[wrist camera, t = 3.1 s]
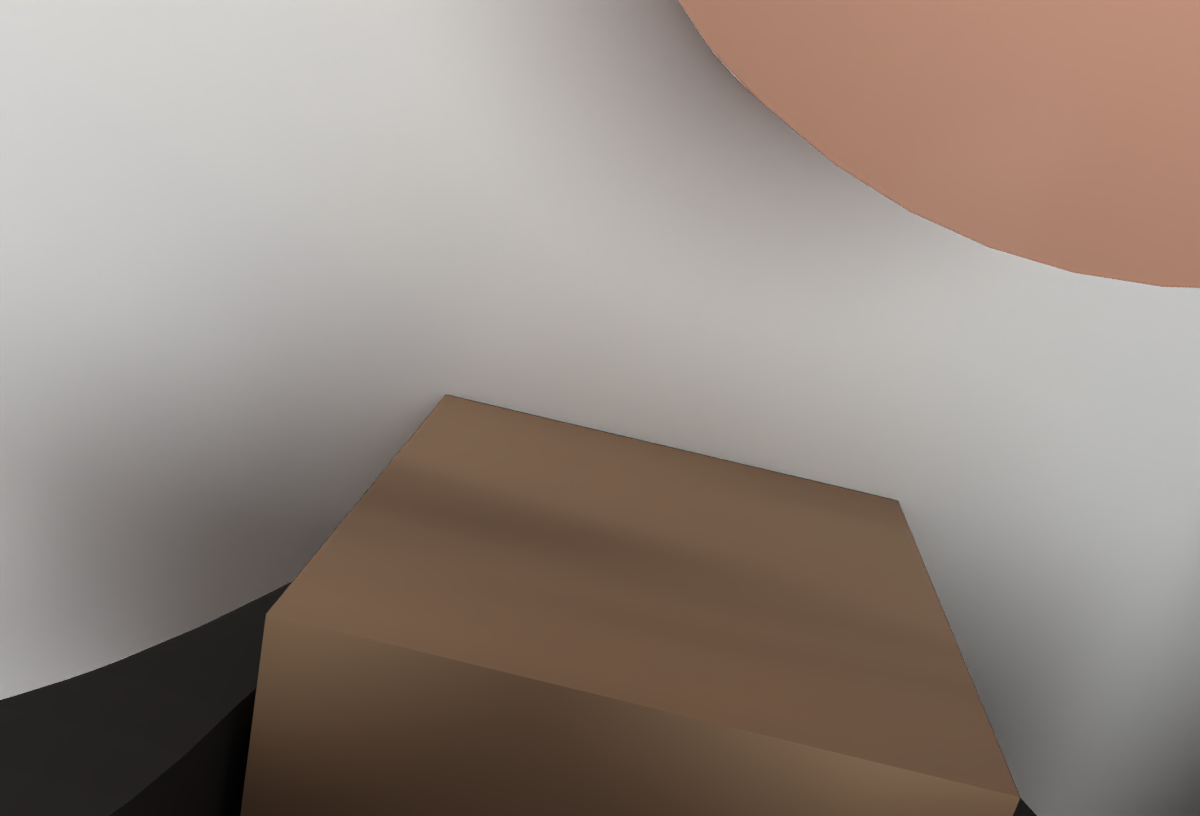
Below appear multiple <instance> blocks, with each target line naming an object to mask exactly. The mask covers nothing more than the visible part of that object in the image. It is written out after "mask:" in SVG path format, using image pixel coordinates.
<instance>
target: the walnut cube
mask: <svg viewBox="0 0 1200 816" xmlns="http://www.w3.org/2000/svg"><path fill="white" fill-rule="evenodd" d="M1019 799H1020V795H1019V793H1018V791H1017V788H1016V786H1015V783H1014V781H1013V779H1012V776H1011V774H1010V771H1009V769H1008V766H1007V764H1006V762H1005V759H1004V757H1003V754H1002V752H1001V749H1000V747H999V745H998V742H997V740H996V737H995V735H994V732H993V730H992V728H991V725H990V723H989V720H988V718H987V715H986V713H985V711H984V708H983V706H982V703H981V701H980V698H979V696H978V694H977V691H976V689H975V686H974V684H973V681H972V679H971V677H970V674H969V672H968V669H967V667H966V664H965V662H964V660H963V657H962V655H961V652H960V650H959V647H958V645H957V643H956V640H955V638H954V635H953V633H952V630H951V628H950V626H949V623H948V621H947V618H946V616H945V613H944V611H943V609H942V606H941V604H940V601H939V599H938V596H937V594H936V592H935V589H934V587H933V584H932V582H931V579H930V577H929V575H928V572H927V570H926V567H925V565H924V562H923V560H922V558H921V555H920V553H919V550H918V548H917V545H916V543H915V541H914V538H913V536H912V533H911V531H910V529H909V526H908V524H907V521H906V519H905V516H904V514H903V512H902V509H901V507H900V504H899V502H898V501H896V500H892V499H887V498H883V497H879V496H875V495H870V494H866V493H862V492H858V491H853V490H849V489H845V488H841V487H836V486H832V485H828V484H824V483H819V482H815V481H811V480H807V479H802V478H798V477H794V476H790V475H785V474H781V473H777V472H772V471H768V470H764V469H760V468H755V467H751V466H747V465H743V464H738V463H734V462H730V461H726V460H721V459H717V458H713V457H709V456H704V455H700V454H696V453H692V452H687V451H683V450H679V449H674V448H670V447H666V446H662V445H657V444H653V443H649V442H645V441H640V440H636V439H632V438H628V437H623V436H619V435H615V434H611V433H606V432H602V431H598V430H594V429H589V428H585V427H581V426H576V425H572V424H568V423H564V422H559V421H555V420H551V419H547V418H542V417H538V416H534V415H530V414H525V413H521V412H517V411H513V410H508V409H504V408H500V407H496V406H491V405H487V404H483V403H478V402H474V401H470V400H466V399H461V398H457V397H453V396H449V395H445V396H444V398H443V399H442V400H441V401H440V403H439V404H438V405H437V406H436V407H435V409H434V410H433V411H432V412H431V414H430V415H429V416H428V417H427V418H426V420H425V421H424V422H423V423H422V424H421V426H420V427H419V428H418V429H417V431H416V432H415V433H414V434H413V435H412V437H411V438H410V439H409V440H408V442H407V443H406V444H405V445H404V446H403V448H402V449H401V450H400V451H399V453H398V454H397V455H396V456H395V457H394V459H393V460H392V461H391V462H390V464H389V465H388V466H387V467H386V468H385V470H384V471H383V472H382V473H381V475H380V476H379V477H378V478H377V479H376V481H375V482H374V483H373V484H372V485H371V487H370V488H369V489H368V490H367V492H366V493H365V494H364V495H363V496H362V498H361V499H360V500H359V501H358V503H357V504H356V505H355V506H354V507H353V509H352V510H351V511H350V512H349V514H348V515H347V516H346V517H345V518H344V520H343V521H342V522H341V523H340V525H339V526H338V527H337V528H336V529H335V531H334V532H333V533H332V534H331V536H330V537H329V538H328V539H327V540H326V542H325V543H324V544H323V545H322V546H321V548H320V549H319V550H318V551H317V553H316V554H315V555H314V556H313V557H312V559H311V560H310V561H309V562H308V564H307V565H306V566H305V567H304V568H303V570H302V571H301V572H300V573H299V575H298V576H297V577H296V578H295V579H294V581H293V582H292V583H291V584H290V586H289V587H288V588H287V589H286V590H285V592H284V593H283V594H282V595H281V596H280V598H279V599H278V600H277V601H276V603H275V604H274V605H273V606H272V607H271V609H270V610H269V611H268V612H267V614H266V618H265V626H264V634H263V642H262V649H261V657H260V665H259V673H258V681H257V689H256V696H255V704H254V712H253V720H252V728H251V735H250V743H249V751H248V759H247V767H246V775H245V782H244V790H243V798H242V806H241V814H240V816H1013V814H1014V812H1015V809H1016V807H1017V804H1018V802H1019Z"/></svg>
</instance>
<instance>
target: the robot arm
mask: <svg viewBox="0 0 1200 816" xmlns="http://www.w3.org/2000/svg"><path fill="white" fill-rule="evenodd" d="M292 582H293V581H292ZM292 582H290V583H288V584H287V585H285V586H283V587H281V588H279V589H277V590H275V591H273V592H271V593H269V594H267V595H265V596H263V597H261V598H259V599H257V600H255V601H253V602H250V603H248V604H246V605H244V606H242V607H240V608H238V609H236V610H234V611H232V612H230V613H228V614H226V615H224V616H222V617H219V618H217V619H215V620H213V621H211V622H209V623H207V624H205V625H203V626H201V627H198V628H196V629H194V630H191V631H189V632H186V633H184V634H182V635H179V636H177V637H175V638H172V639H170V640H167V641H165V642H163V643H160V644H158V645H156V646H153V647H151V648H148V649H146V650H144V651H141V652H139V653H137V654H134V655H132V656H129V657H127V658H125V659H122V660H120V661H118V662H115V663H112V664H109V665H107V666H104V667H101V668H99V669H96V670H93V671H90V672H88V673H85V674H82V675H79V676H76V677H73V678H70V679H68V680H64V681H61V682H58V683H55V684H52V685H48V686H45V687H42V688H39V689H36V690H33V691H29V692H26V693H23V694H20V695H17V696H13V697H10V698H6V699H3V700H0V816H240V814H241V806H242V798H243V790H244V782H245V775H246V767H247V759H248V751H249V743H250V735H251V728H252V720H253V712H254V704H255V696H256V689H257V681H258V673H259V665H260V657H261V649H262V642H263V634H264V626H265V618H266V614H267V612H268V611H269V610H270V609H271V607H272V606H273V605H274V604H275V603H276V601H277V600H278V599H279V598H280V596H281V595H282V594H283V593H284V592H285V590H286V589H287V588H288V587H289V586H290V584H291V583H292ZM1013 816H1037V815H1036V814H1035V813H1034V812H1033V811H1032V810H1031V809H1030V808H1029V807H1028V806H1027V805H1026V804H1025V803H1024V801H1023V800H1022V799H1021V798H1020V799H1019V802H1018V804H1017V807H1016V809H1015V812H1014V814H1013Z"/></svg>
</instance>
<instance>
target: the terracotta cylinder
mask: <svg viewBox="0 0 1200 816" xmlns="http://www.w3.org/2000/svg"><path fill="white" fill-rule="evenodd" d="M678 1H679V3H680V4H681V6H682V7H683V9H684V10H685V12H686V14H687V15H688V17H689V18H690V20H691V21H692V23H693V25H694V26H695V28H696V29H697V31H698V32H699V33H700V35H701V36H702V38H703V39H704V41H705V42H706V44H707V45H708V47H709V48H710V50H711V51H712V52H713V54H714V55H715V56H716V57H717V58H718V60H719V61H720V62H721V63H722V64H723V65H724V66H725V67H726V68H727V70H728V71H729V72H730V73H731V74H732V75H733V76H734V77H735V78H736V79H737V80H738V81H739V82H740V83H741V84H742V85H743V86H744V87H745V88H746V89H748V90H749V91H750V92H751V93H752V94H753V95H754V96H755V97H757V98H758V99H759V100H760V101H761V102H762V103H763V104H764V105H765V106H767V107H768V108H769V109H770V110H771V111H772V112H774V113H775V114H776V115H777V116H778V117H779V118H781V119H782V120H783V121H784V122H785V123H787V124H788V125H789V126H790V127H791V128H793V129H794V130H795V131H796V132H797V133H798V134H800V135H801V136H802V137H803V138H804V139H806V140H807V141H808V142H809V143H810V144H812V145H813V146H814V147H815V148H816V149H817V150H819V151H820V152H821V153H822V154H823V155H825V156H826V157H827V158H828V159H829V160H831V161H832V162H833V163H834V164H835V165H837V166H838V167H840V168H841V169H843V170H845V171H846V172H848V173H849V174H851V175H853V176H854V177H856V178H857V179H859V180H861V181H862V182H864V183H865V184H867V185H868V186H870V187H872V188H873V189H875V190H876V191H878V192H880V193H881V194H883V195H884V196H886V197H888V198H889V199H891V200H892V201H894V202H895V203H897V204H899V205H900V206H902V207H903V208H905V209H907V210H908V211H910V212H912V213H914V214H916V215H919V216H921V217H923V218H925V219H928V220H930V221H932V222H934V223H936V224H939V225H941V226H943V227H945V228H947V229H950V230H952V231H954V232H956V233H959V234H961V235H963V236H965V237H967V238H970V239H972V240H974V241H976V242H978V243H981V244H983V245H985V246H987V247H990V248H993V249H996V250H1000V251H1003V252H1006V253H1010V254H1013V255H1017V256H1020V257H1023V258H1027V259H1030V260H1033V261H1037V262H1040V263H1044V264H1047V265H1050V266H1054V267H1057V268H1060V269H1064V270H1067V271H1070V272H1074V273H1080V274H1087V275H1093V276H1099V277H1105V278H1112V279H1118V280H1124V281H1131V282H1137V283H1143V284H1150V285H1156V286H1162V287H1194V288H1200V0H678Z"/></svg>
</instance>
